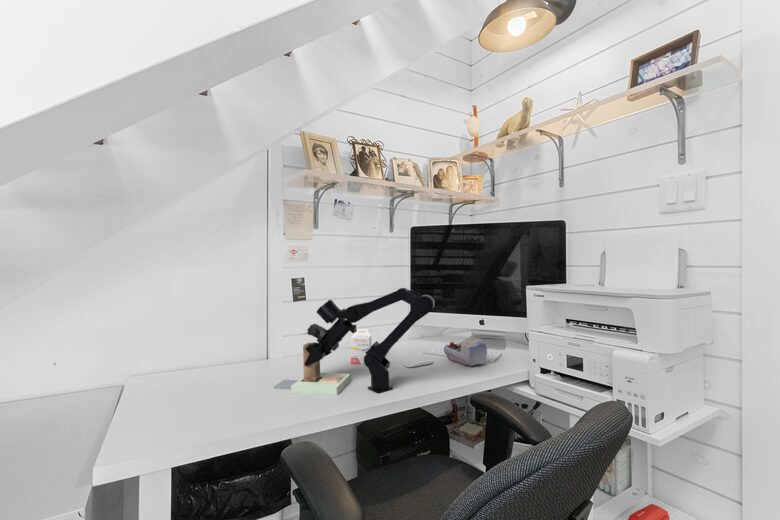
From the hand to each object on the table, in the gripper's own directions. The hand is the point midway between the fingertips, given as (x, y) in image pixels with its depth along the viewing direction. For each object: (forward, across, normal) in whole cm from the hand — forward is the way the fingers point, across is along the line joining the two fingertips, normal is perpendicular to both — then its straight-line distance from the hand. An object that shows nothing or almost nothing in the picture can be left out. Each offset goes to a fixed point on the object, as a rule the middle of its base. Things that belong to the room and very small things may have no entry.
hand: (308, 363), depth 135 cm
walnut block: (+4, 0, +6) cm, 7 cm away
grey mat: (+11, 0, 0) cm, 11 cm away
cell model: (-33, -40, +46) cm, 69 cm away
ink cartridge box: (-1, -33, +13) cm, 36 cm away
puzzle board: (+2, 0, +9) cm, 10 cm away
